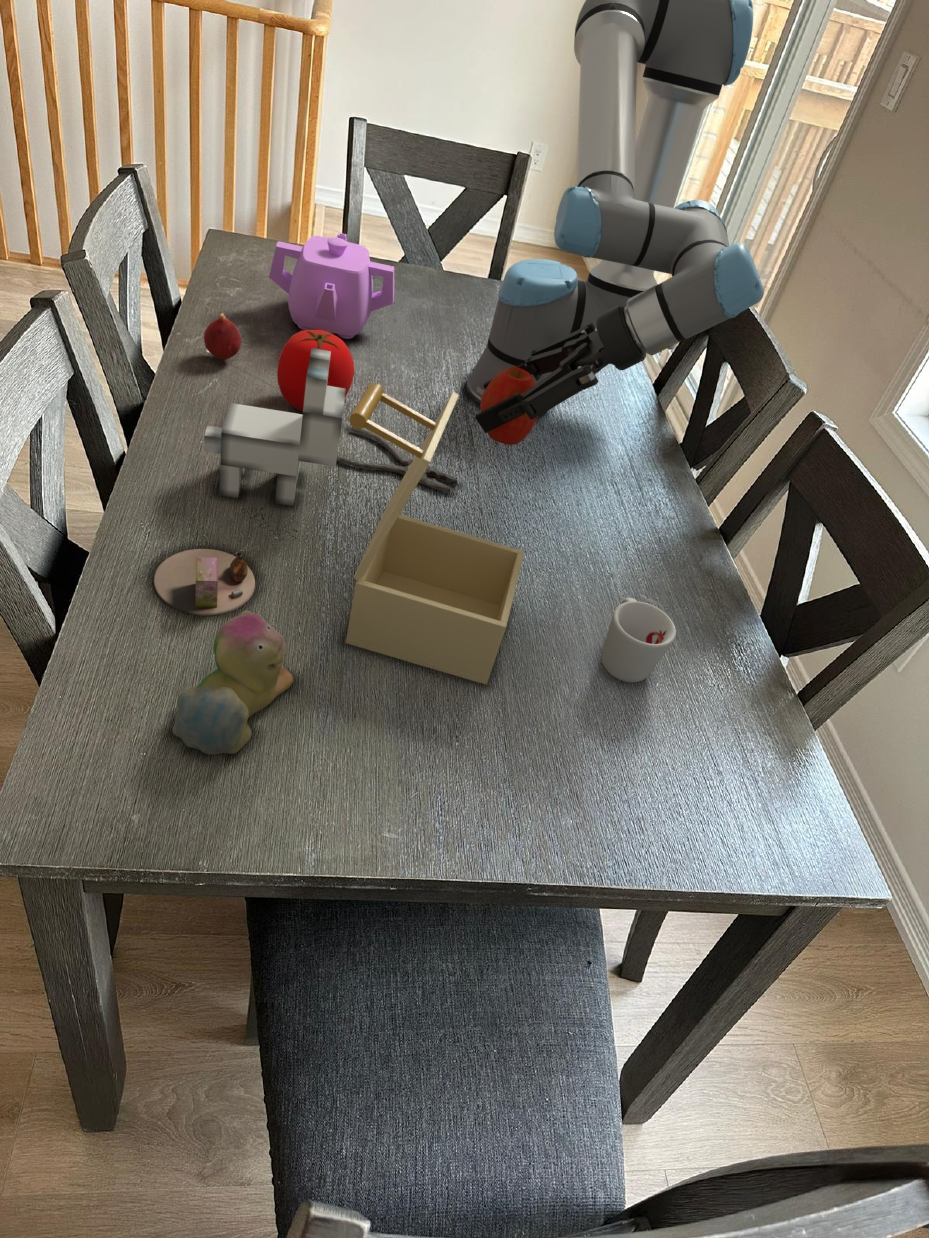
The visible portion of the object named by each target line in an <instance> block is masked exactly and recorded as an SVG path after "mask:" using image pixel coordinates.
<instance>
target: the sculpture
mask: <svg viewBox="0 0 929 1238" xmlns="http://www.w3.org/2000/svg"><path fill="white" fill-rule="evenodd" d="M286 651H287V644H286V643H285V641H284V636H283V634H281V633H279V632H277V630H276V629H275V628H274V627H273V626H272V625H270V624H269V623H268V622H266V620H265V619H264V618H263V617H262V615H260V614H259V613H254V612H252V611H251V610H244V611H242V612H240V613H239V615H238V616H235V617H232V618H231V619H229V620H227V621H226V622H224V624H222V626H221V627H220V628H219V630H218V632H217V633H216V635H215V638H214V641H213V657H214V660H215V665H216V669H215V670H213V671H212V672H210V673H208V674H207V675H206V676H205V677H204V678H203V679H202V680H201V681H200V683H199V684H198V685H197V686H196V687H190V688H185V689H183V690H182V691H181V692H180V693H179V694H178V697H177V700H176V706H177V710H176V713H175V716H174V725H173V727H172V734H173V735H174V736H176V737H179V739H181V740H182V742H183V744H184V745H185V746H186V747H188V748H191V749H196V750H199V751H200V752H202V753H204V754H206V755H219V754H230V755H232V754H236V753H238V752H239V751H240V750H241V749H243V747H244V746H245V745H246V744H247V743H248V742H249V741H250V739H251V738H252V729H251V727H250V726H249V724H248V719H249V718H250V717H251V716H253V715H254V714H255V713H257V712H259V711H261V710H263V709H264V708H267V706H268V705H270V704H271V703H273V701H274V700H275V698H277V697H278V696H279V695H281V694H282V693H284V692H285V691H287V690H288V689H289V688H291V687H292V686H293V683H294V676H293V674H292V673H291V672H290V671H288V670H287V668H286V667H285V666H284V665H283V664H284V661H285V657H286V656H285V654H286Z"/></svg>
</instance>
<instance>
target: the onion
mask: <svg viewBox="0 0 929 1238" xmlns="http://www.w3.org/2000/svg"><path fill="white" fill-rule="evenodd" d="M203 341H204V346H205V348H206V349H207V351H208V352H209V353H210V354H211V355H212V356H213V357H214V358H215V359H217V360H218V361H221V362H223V361H226V360H229V359H231V358H233V357H234V356H236V355H237V354H238V353H239V351H240V350H241V346H242V335H241V333H240V331H239V329H238V328H237V326H236V325H235V323H234V322H232V321H231V320H230V319H228V318H227V317H226V315H225V314H224V313H223V312H222V313H220V314H219V317H218V318H216V319H214V320H213V321H211V322H210V323H209V324H208V326H207V327H206V328H205V330H204V333H203Z"/></svg>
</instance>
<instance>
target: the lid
mask: <svg viewBox="0 0 929 1238" xmlns="http://www.w3.org/2000/svg"><path fill="white" fill-rule="evenodd" d="M459 397H460V395H459V394H458V393H457V392H455V391H452V392H451V393H450V395H449V397H448V399H447V401H446V402H445V405H444V406H443V408H442V409H441V412H440V413H439V415H438V416H437V418H436V420H435V421H434V420H432V419H431V418H428V417H427V416H425V415H423V414H422V413H420V412H418V411H416V410H414V409H413V408H411V407H409V406H407V405H406V404H405V403H402V402H401V401H400V400H398V399H395V398H394V397H392V396H390V395H389V394H387V393H385V391H384V388H383V386H382V385H381V384H380V383H377V382H372V383H370V384H368V386H367V387H366V388H365V391H364V392H363V393H362V395H361V397H360V399H359V400H358V402H357V404H356V406H355V407H354V409H353V410H352V412H351V413H350V415H349V417H348V421H349V424H350V426H351V427H354V428H356V429H364V428H365V430H367V431H369V432H371V433H374V434H376V435H378V436H380V437H381V438H383V439H384V440H386V441H387V442H389V443H391V444H392V445H395V446H396V447H398V448H401V449H402V450H403V451H406V452H407V453H409V454H411V455H412V456H414V458H413V459H412V460H413V462H412V463H411V465H410V467H409V469H408V470H407V472H406V474H405V476H403V477H402V479H401V481H400V483H399V484H398V486H397V488H396V490H395V491H394V493H393V495H392V497H391V498H390V500H389V502H388V503H387V505H386V507H385V509H384V511H383V513H382V516H381V518H380V519H379V522H378V524H377V527H376V528H375V531H374V533H373V534H372V537H371V539H370V541H369V543H368V545H367V548H366V550H365V551H364V553H363V556H362V558H361V560H360V563H359V565H358V567H357V569H356V571H355V574H354V575H353V579H354V580H356V581H357V580H358V581H360V580H361V578H362V576H363V575H364V573H365V571H366V570H367V568H368V566H369V565H370V563H371V561H372V560H373V558H374V556H375V555H376V553H377V551H378V550H379V548H380V546H381V544H382V543H383V541H384V539H385V538H386V536H387V534H388V533H389V531H390V529H391V528H392V526H393V524H394V523H395V521H396V519H397V518H398V516H399V514H400V515H401V513H402V511H403V509H404V508H405V506H406V504H407V502H408V501H409V500H410V497H411V496H412V494H413V492H414V491H415V489H416V487H417V485H418V484H419V481H420V479H421V477H422V475H423V474H424V472H425V470H426V469H427V467H428V466H429V465H430V464H431V462H432V460H433V458H434V454H435V452H436V451H437V448H438V445H439V443H440V441H441V439H442V436H443V434H444V432H445V429H446V427H447V424H448V422H449V419H450V417H451V415H452V413H453V411H454V408H455V406H456V403H457V401H458V399H459ZM380 402H382V403H384V404H385V405H387V406H389V407H390V408H393V409H394V410H396V411H398V412H399V413H401V414H403V415H404V416H407V417H408V418H409V419H412V420H414V421H415V422H417V423H419V424H420V425H422V426H424V427H426V428H427V429H429V432H428V434H427V436H426V438H425V439H424V441H423V442H422V444H421V445H420V447H418V446H417V445H415V444H413V443H411V442H409V441H408V440H407V439H404V438H402V437H400V436H399V435H397V434H395V433H394V432H391V431H390V430H389V429H386V428H384V427H383V426H381V425H379V424H378V423H376V422H374V421H372V420H370V419H371V416H372V415H373V413H374V412H375V409H376V408H377V406H378V404H379V403H380Z"/></svg>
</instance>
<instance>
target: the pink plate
mask: <svg viewBox="0 0 929 1238" xmlns="http://www.w3.org/2000/svg"><path fill="white" fill-rule="evenodd" d="M152 585H153V589H154V592H155V593H156V595H157V597H158V598H159V599H160V600H161V601H162V602H163V603H164V604H166V605H167V606H168V607H170V608H172V609H174V610H176V611H178V612H180V613H183V614H188V615H193V616H200V617H201V616H204V617H211V616H218V615H223V614H227V613H230V612H233V611H235V610H237V609H239V608H241V607H242V606H243V605H245V604H246V603H247V602H249V600H250V599H251V598H252V597H253V594H254V592H255V590H256V578H255V575H254V573H253V571H252V569H251V568H250V567H249V566H248V564H247V562H246V561H245V559H244V557H243V552H242V550H237V553H236V556H235V555H233V554H231V553H229V552H226V551H223V550H218V549H210V548H193V549H188V550H183V551H180V552H178V553H175V554H173V555H171V556H169V557H168V558H166V559H164V560H163V561H162V562H161V563H160V564H159V565H158V567H157V568H156V570H155V572H154V574H153V577H152Z"/></svg>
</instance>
